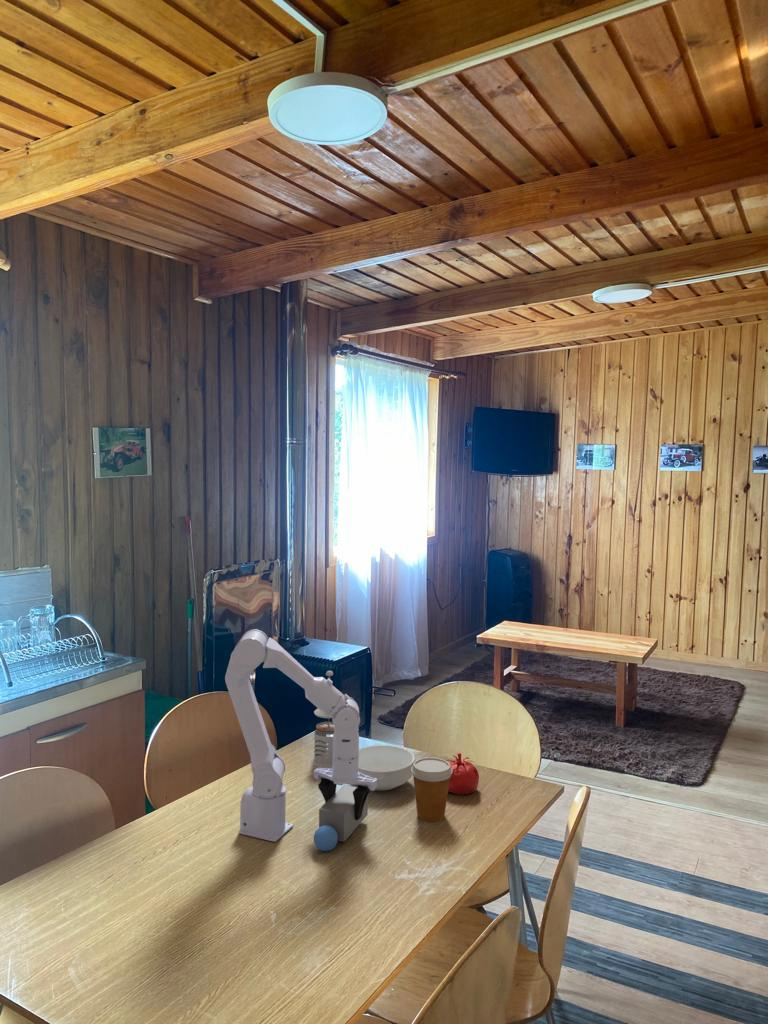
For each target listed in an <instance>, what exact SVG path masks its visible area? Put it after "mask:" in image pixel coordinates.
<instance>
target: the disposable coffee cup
mask: <svg viewBox="0 0 768 1024" xmlns="http://www.w3.org/2000/svg"><path fill="white" fill-rule="evenodd" d="M411 772H412V776H413V786H414V796H415V806H416V807H415V808H416V815H417V817H418V818H419V819H420V820H423V821H427V822H438V821H441V820H443V819H444V818H445V815H446V809H447V801H448V793H449V791H448V788H449V781H450V777H451V774H452V769H451V766H450V761H446V759H443V758H441V757H440V758H438V757H433V756H432V757H422V758H418V759H415V762H414V763H413V766H412V768H411Z"/></svg>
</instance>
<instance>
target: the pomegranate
mask: <svg viewBox="0 0 768 1024" xmlns="http://www.w3.org/2000/svg"><path fill="white" fill-rule="evenodd" d="M456 755H457V756H456ZM456 755H454V754H453V755H452V757H453V758H455V759H454V760H452V759H447V760H446V759H445V760H446V761H447V762H449V763H450V766H451V769H452V774H451V777H450V781H449V788H448V792H450V793H451V794H454V795H457V796H458V795H469V794H471V793H473V792H474V791H476V790H477V789H478V787H479V782H480V781H479V780H480V774H479V772H478V769H477V768H476V766H475V765H474V764H473V763H476V762H475V761H472V760H470V757H468V756H466V757H465V758H462V753H461V752H457V754H456ZM466 759H468V760H466Z"/></svg>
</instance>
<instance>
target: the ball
mask: <svg viewBox="0 0 768 1024" xmlns="http://www.w3.org/2000/svg"><path fill="white" fill-rule="evenodd" d="M338 841H339V840H338V836H337V832H336V831H335V829H334V828H333V827H331V826H328V825H324V826H321V827H319V826H318V828H317V829H316V830H315V832H314V835H313V843H314V845H315V847H316V848H317V849H318V850H320V851H321V852H329V851H332V850H333V849H334V848H335V847H336V845H337V844H338Z"/></svg>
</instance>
